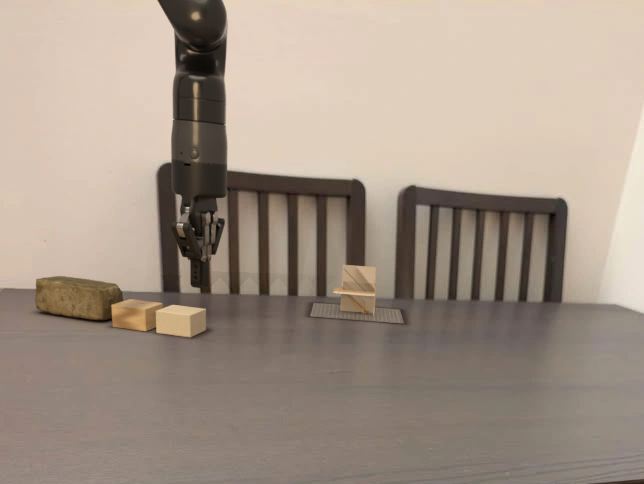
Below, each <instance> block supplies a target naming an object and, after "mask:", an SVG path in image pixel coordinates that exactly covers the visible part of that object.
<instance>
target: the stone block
mask: <svg viewBox="0 0 644 484" xmlns="http://www.w3.org/2000/svg"><path fill="white" fill-rule="evenodd" d="M34 297H35V298H34V300H35V301H34V302H35V308H36V310H37V309H38V310H40V311H42V312H44V313H50V314H52V315H59V316H65V317H73V318H76V319H77V318H81V319H85V320H92V321H93V320H94V321H106V320H112V307H111V305H113V304H116V303H119V302H122V301H124V295H123V290H122V289H121V288H120V287H119V285H118V284H116V283H113V282H105V281H101V280H95V279H89V278H80V277H72V276H66V275H65V276H64V275H55V276H49V277H41V278H36V279H35V296H34Z"/></svg>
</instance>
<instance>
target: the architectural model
mask: <svg viewBox="0 0 644 484" xmlns="http://www.w3.org/2000/svg"><path fill="white" fill-rule="evenodd" d="M341 273H342V274H341V287H333V292H332V293H333V294H337V295H338V294H340V304H334V303H333V304H332V303H321V302H313V305H312V309H311V312H310V315H309V316H310V317H314V318H326V319H337V320H338V319H339V320H350V321H351V320H352V321H366V322H378V323H392V324H403V325H404V324H405V323H404V319H403V315H402V313H401V309H400V308H399V309H397V308H387V307H385V308H384V307H376V298H377V297H376V296H377V288H376V287H377V282H376V278H377V266H364V265H351V264H342V272H341Z"/></svg>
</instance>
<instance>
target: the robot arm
mask: <svg viewBox="0 0 644 484" xmlns="http://www.w3.org/2000/svg"><path fill="white" fill-rule="evenodd" d="M156 1H157V3H158V5H159V6H160V8H161V9H162V11H163V13H164V14H165V16H166V19H167V20H168V22H169V24H170V26H171V27H172V29H173V34H174V37H173V38H174V63H175V64H174V65H175V66H174V67H175V73H174V76H173V82H172V119H173V120H172V125H171V126H172V127H171V133H170V135H171V136H170V156H171V159H170V162H171V165H170V166H171V192H172V193H173V194H175V195H179V196H181V200H180V201H181V203H180V206H179V213H180V218H179V219H178V221H172V222H171V225H170V226H171V227H170V228H171V231H172V232H173V236H174V239H175V241H176V244H177V247H178V249H179V251H180V254H181V257H182V258H187V260H188V261H189V264H190V267H189V268H190V269H189V270H190V272H189V273H190V274H189V275H190V276H189V277H190V278H189V279H190V282H189V283H190V286H191V287H192V288H197V289H204V288H207V287H209V285H210V284H209V282H210V281H209V280H210V279H209V277H210V275H209V274H210V273H209V272H210V271H209V270H210V269H209V267H210V266H209V265H210V261H211V260H212V256H215V255H216V254H217V252H218V248H219V245H220V241H221V239H222V234H223V232H224V228H225V226H226V225H225V224H226V219H225V218H222V217H218V216H219V213H218V211H219V207H218V202H217V201H218V200H217V199H224V198H226V197H227V195H228V147H229V146H228V134H227V90H226V81H225V76H226V64H227V49H228V30H229V29H228V28H229V27H228V25H229V24H228V23H229V22H228V14H227V12H228V11H227V9H226V5H225V3H224V0H156Z"/></svg>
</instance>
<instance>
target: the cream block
mask: <svg viewBox="0 0 644 484" xmlns="http://www.w3.org/2000/svg"><path fill="white" fill-rule="evenodd" d="M155 331H156V332H155V333H156V334H161V335H169V336H176V337H183V338H192V337H195V336H197V335H199V334H201V333H203V332H206V331H207V309H206V308H202V307H193V306H186V305H179V304H178V305H177V304H170V305H168V306H165V307H163V308H162V309H159V310H157V311H156V328H155Z"/></svg>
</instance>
